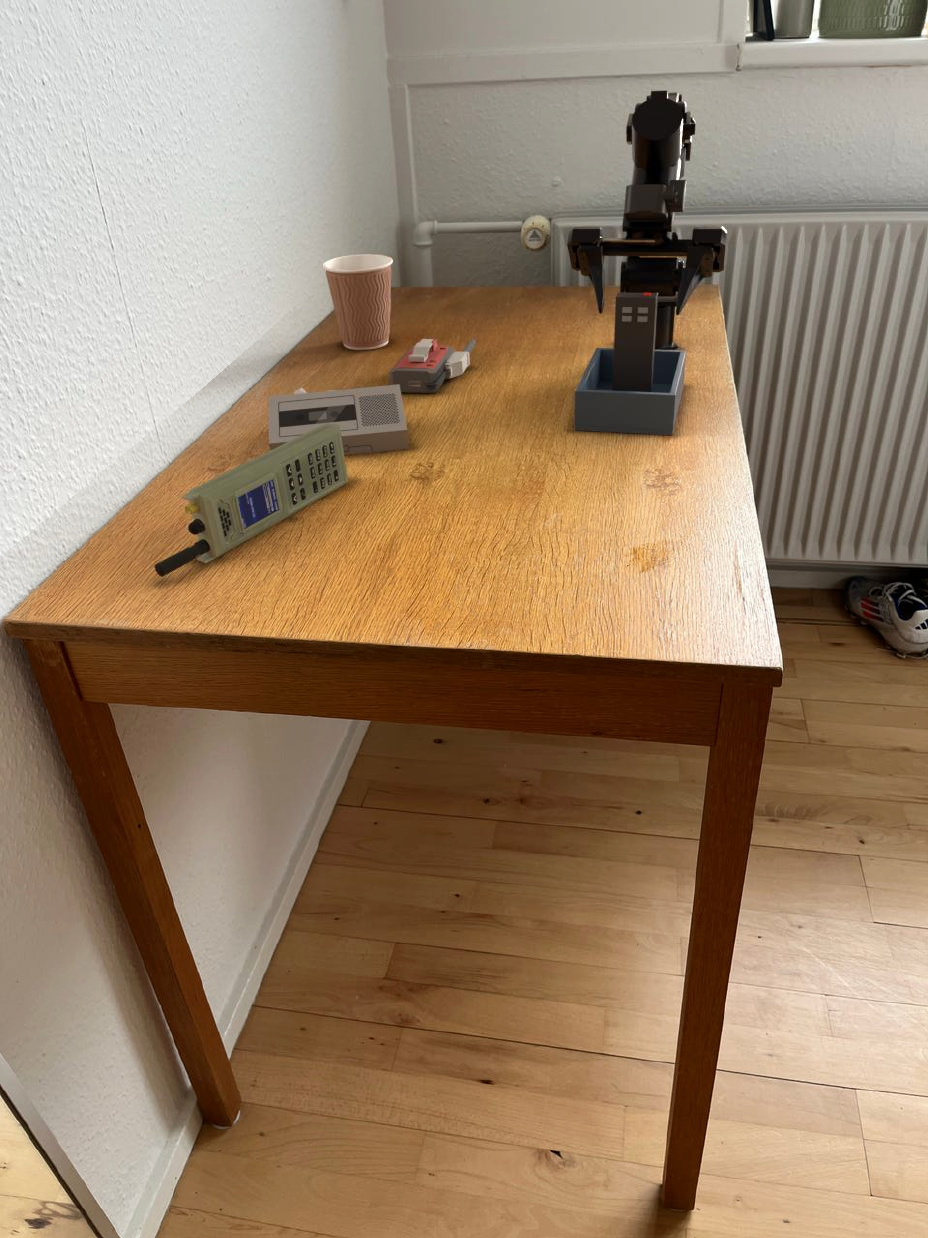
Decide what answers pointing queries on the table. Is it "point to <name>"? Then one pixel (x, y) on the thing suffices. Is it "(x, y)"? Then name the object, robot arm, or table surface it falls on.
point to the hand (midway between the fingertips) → (638, 312)
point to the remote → (634, 341)
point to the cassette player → (343, 417)
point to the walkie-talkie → (429, 366)
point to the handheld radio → (261, 494)
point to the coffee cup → (361, 298)
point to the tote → (630, 396)
